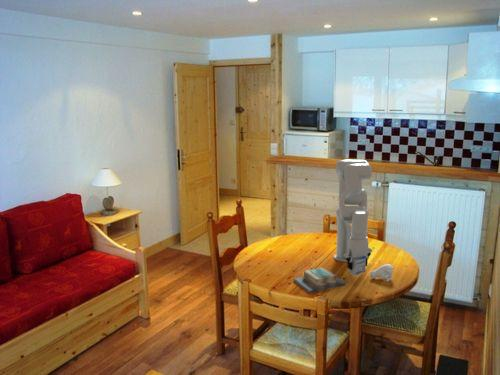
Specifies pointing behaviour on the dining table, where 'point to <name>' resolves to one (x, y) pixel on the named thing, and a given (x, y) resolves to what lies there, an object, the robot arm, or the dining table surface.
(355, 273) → the medicine box
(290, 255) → the dining table surface
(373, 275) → the grey rock
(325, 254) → the dining table surface
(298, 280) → the plinth
